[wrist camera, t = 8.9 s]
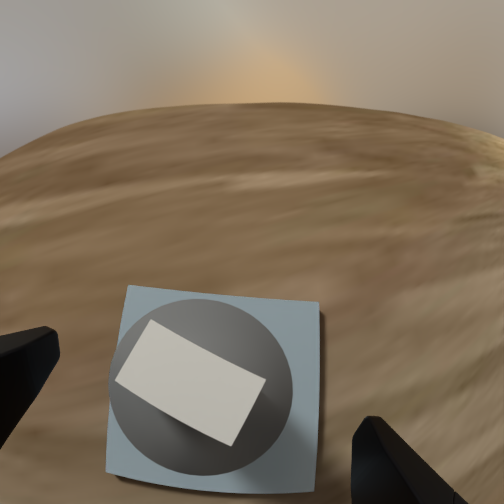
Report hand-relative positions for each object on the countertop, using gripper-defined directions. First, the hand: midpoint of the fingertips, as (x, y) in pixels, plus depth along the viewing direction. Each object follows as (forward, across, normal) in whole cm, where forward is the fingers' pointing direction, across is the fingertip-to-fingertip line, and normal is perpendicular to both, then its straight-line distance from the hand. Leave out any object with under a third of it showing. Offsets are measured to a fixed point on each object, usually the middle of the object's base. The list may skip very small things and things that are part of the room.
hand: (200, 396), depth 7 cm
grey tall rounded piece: (+7, 0, +6) cm, 9 cm away
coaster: (+8, 0, +7) cm, 10 cm away
